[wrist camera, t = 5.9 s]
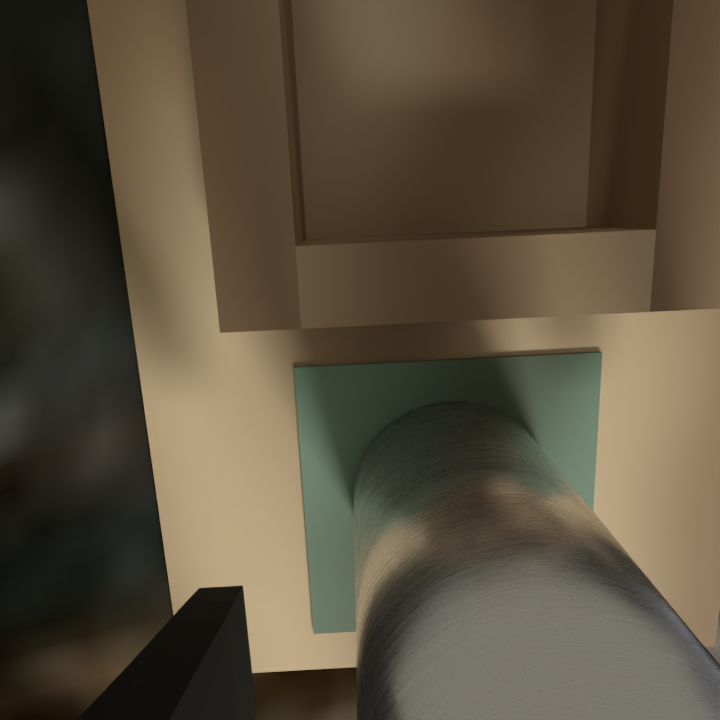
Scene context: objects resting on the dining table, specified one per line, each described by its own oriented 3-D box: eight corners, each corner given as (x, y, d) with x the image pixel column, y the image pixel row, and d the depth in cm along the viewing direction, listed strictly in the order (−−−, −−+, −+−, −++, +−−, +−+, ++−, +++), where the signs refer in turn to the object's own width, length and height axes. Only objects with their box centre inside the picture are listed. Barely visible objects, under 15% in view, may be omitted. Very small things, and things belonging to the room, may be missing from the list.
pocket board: (810, -336, 9) (1025, -590, 6) (701, 631, 14) (798, 744, 11) (55, -312, 9) (-82, -562, 6) (188, 660, 13) (144, 783, 10)
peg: (551, 396, 11) (983, 782, 4) (544, 574, 12) (872, 1176, 5) (349, 405, 11) (348, 815, 4) (357, 583, 12) (372, 1206, 5)
